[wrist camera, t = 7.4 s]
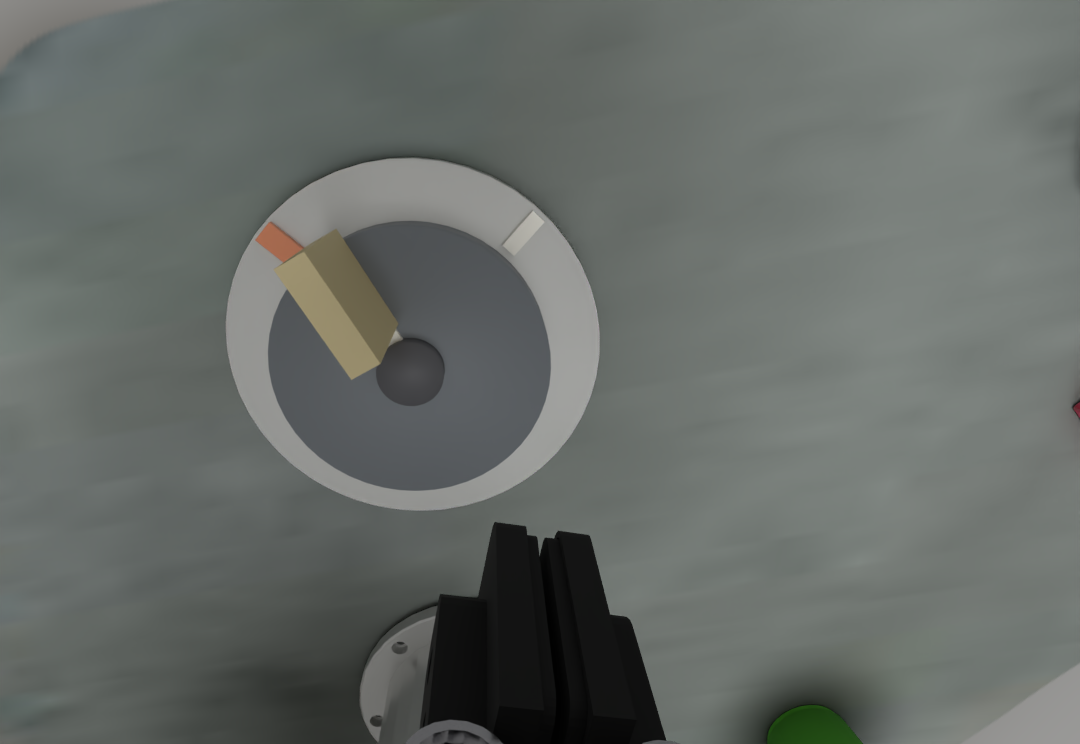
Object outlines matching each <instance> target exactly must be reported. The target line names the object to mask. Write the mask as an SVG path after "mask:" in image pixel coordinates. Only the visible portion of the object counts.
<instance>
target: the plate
mask: <svg viewBox="0 0 1080 744" xmlns="http://www.w3.org/2000/svg"><path fill="white" fill-rule="evenodd" d="M395 221H422V222H431V223H436V224H441V225H445V226H449V227H452V228H455V229H458V230H461V231H463V232H466V233H468V234H470V235H472V236H474V237H476V238H478V239H480V240H482V241H483V242H485V243H486V244H488V245H489V246H491V247H492V248H494V249H495V250H497V251H498V252H499V253H500V254H501V255H502V256H503V257H505V258H506V259H507V260H508V261H509V262H510V263H511V264H512V265H513V266H514V267H515V269H516V270H517V271H518V272H519V273H520V274H521V276H522V277H523V278H524V280H525V281H526V283H527V285H528V286H529V288H530V289H531V291H532V293H533V295H534V297H535V299H536V301H537V303H538V305H539V308H540V311H541V314H542V317H543V320H544V324H545V328H546V331H547V335H548V341H549V347H550V354H551V374H550V384H549V389H548V393H547V397H546V401H545V404H544V406H543V409H542V411H541V414H540V416H539V418H538V420H537V422H536V424H535V425H534V427H533V429H532V431H531V432H530V434H529V435H528V436H527V437H526V439H525V440H524V441H523V443H522V444H521V445H520V446H519V447H518V448H517V449H516V450H515V451H514V452H513V453H512V454H511V455H510V456H509V457H508V458H507V459H505V460H504V461H503V462H502V463H500V464H499V465H498V466H496V467H495V468H493V469H491V470H490V471H488V472H486V473H485V474H483V475H481V476H479V477H477V478H474V479H472V480H470V481H468V482H465V483H461V484H458V485H455V486H452V487H447V488H441V489H436V490H424V491H406V490H395V489H389V488H383V487H379V486H375V485H372V484H368V483H365V482H363V481H360V480H358V479H355V478H353V477H350V476H348V475H346V474H344V473H343V472H341V471H339V470H337V469H335V468H334V467H332V466H331V465H329V464H328V463H326V462H325V461H324V460H322V459H321V458H319V457H318V456H317V455H316V454H315V453H314V452H313V451H312V450H311V449H309V448H308V447H307V446H306V445H305V443H304V442H303V441H302V440H301V439H300V438H299V437H298V435H297V434H296V433H295V432H294V430H293V429H292V427H291V426H290V424H289V423H288V421H287V420H286V418H285V416H284V414H283V412H282V410H281V408H280V406H279V404H278V402H277V399H276V396H275V393H274V390H273V388H272V384H271V378H270V373H269V366H268V344H269V333H270V329H271V325H272V321H273V317H274V314H275V312H276V310H277V307H278V305H279V302H280V300H281V298H282V297H283V295H284V293H285V291H286V290H287V288H286V287H285V285H284V284H283V283H282V281H281V280H280V278H279V277H278V275H277V274H276V273H275V271H274V270H273V269H275V268H276V267H278V266H279V265H280V264H282V263H283V262H285V261H286V260H288V259H289V258H290V257H292V256H293V255H295V254H296V253H298V252H299V251H301V250H302V249H303V248H305V247H306V246H308V245H309V244H311V243H312V242H314V241H316V240H317V239H319V238H321V237H323V236H324V235H326V234H328V233H329V232H331V231H333V230H335V229H337V230H338V232H339V233H340V235H341V236H342V238H343V237H345V236H347V235H349V234H352V233H354V232H356V231H358V230H361V229H364V228H367V227H370V226H373V225H377V224H382V223H388V222H395ZM226 339H227V351H228V356H229V361H230V366H231V371H232V374H233V377H234V380H235V383H236V386H237V389H238V392H239V394H240V396H241V398H242V400H243V402H244V404H245V406H246V408H247V410H248V412H249V414H250V416H251V417H252V419H253V420H254V422H255V423H256V425H257V426H258V428H259V429H260V431H261V432H262V434H263V435H264V436H265V437H266V438H267V439H268V441H269V442H270V443H271V444H272V445H273V446H274V447H275V449H276V450H277V451H278V452H279V453H280V454H281V455H283V456H284V457H285V458H286V459H287V460H288V461H289V462H290V463H291V464H292V465H294V466H295V467H296V468H297V469H299V470H300V471H302V472H303V473H304V474H306V475H307V476H309V477H310V478H311V479H313V480H315V481H316V482H318V483H320V484H322V485H324V486H325V487H327V488H329V489H331V490H333V491H335V492H337V493H340V494H342V495H345V496H347V497H349V498H352V499H354V500H358V501H361V502H365V503H368V504H372V505H375V506H380V507H386V508H392V509H398V510H416V511H426V510H443V509H449V508H455V507H461V506H466V505H469V504H472V503H476V502H479V501H483V500H486V499H488V498H491V497H493V496H495V495H498V494H500V493H502V492H505V491H507V490H508V489H510V488H512V487H514V486H515V485H517V484H519V483H521V482H522V481H524V480H525V479H527V478H528V477H530V476H531V475H532V474H534V473H535V472H536V471H538V470H539V469H540V468H542V467H543V466H544V465H545V464H546V463H547V462H548V461H549V460H550V459H551V458H552V457H553V456H554V455H555V454H556V453H557V452H558V451H559V449H560V448H561V447H562V446H563V444H564V443H565V442H566V441H567V440H568V438H569V437H570V436H571V434H572V432H573V431H574V429H575V427H576V426H577V424H578V423H579V421H580V419H581V418H582V415H583V413H584V411H585V409H586V406H587V404H588V402H589V400H590V397H591V393H592V390H593V387H594V383H595V380H596V375H597V369H598V362H599V355H600V331H599V323H598V315H597V308H596V305H595V301H594V297H593V294H592V290H591V287H590V284H589V282H588V279H587V277H586V275H585V272H584V270H583V268H582V265H581V263H580V262H579V260H578V258H577V257H576V255H575V253H574V252H573V250H572V248H571V246H570V245H569V243H568V242H567V240H566V238H565V237H564V236H563V235H562V233H561V232H560V231H559V230H558V228H557V227H556V226H555V224H554V223H553V222H552V221H551V219H550V218H549V217H548V216H546V215H545V214H544V213H543V212H542V211H541V210H540V209H539V208H538V207H537V206H536V205H535V204H534V203H533V202H532V201H530V200H529V199H528V198H526V197H525V196H524V195H522V194H521V193H520V192H518V191H517V190H516V189H514V188H513V187H511V186H509V185H507V184H506V183H504V182H502V181H500V180H498V179H497V178H495V177H493V176H491V175H489V174H486V173H484V172H481V171H479V170H476V169H474V168H471V167H468V166H465V165H461V164H457V163H453V162H449V161H445V160H439V159H430V158H421V157H402V158H387V159H381V160H375V161H369V162H364V163H361V164H358V165H355V166H352V167H348V168H345V169H342V170H339V171H336V172H334V173H332V174H330V175H327V176H325V177H323V178H321V179H319V180H317V181H315V182H313V183H311V184H309V185H308V186H306V187H305V188H303V189H302V190H300V191H299V192H297V193H296V194H294V195H293V196H291V197H290V198H289V199H288V200H287V201H285V202H284V203H283V204H282V205H281V206H280V207H279V208H278V209H277V210H276V211H274V212H273V213H272V214H271V215H270V216H269V218H268V219H267V220H266V221H265V223H264V224H263V225H262V226H261V227H260V229H259V230H258V231H257V232H256V234H255V235H254V237H253V238H252V240H251V242H250V244H249V245H248V247H247V249H246V250H245V252H244V254H243V255H242V258H241V260H240V263H239V265H238V268H237V270H236V273H235V275H234V278H233V282H232V286H231V290H230V294H229V298H228V305H227V316H226Z"/></svg>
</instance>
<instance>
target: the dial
mask: <svg viewBox="0 0 1080 744" xmlns="http://www.w3.org/2000/svg"><path fill="white" fill-rule="evenodd" d="M273 270H274V271H275V273H276V274H277V275H278V277H279V278H280V280H281V281H282V283H283V284H284V285H285V287H286V288H287V290H286V291H285V293H284V295H283V297H282V298H281V300H280V302H279V305H278V307H277V310H276V312H275V314H274V317H273V321H272V325H271V329H270V333H269V344H268V366H269V373H270V378H271V384H272V388H273V390H274V393H275V396H276V399H277V402H278V404H279V406H280V408H281V410H282V412H283V414H284V416H285V418H286V420H287V421H288V423H289V424H290V426H291V427H292V429H293V430H294V432H295V433H296V434H297V435H298V437H299V438H300V439H301V440H302V441H303V442H304V443H305V445H306V446H307V447H308V448H309V449H311V450H312V451H313V452H314V453H315V454H316V455H317V456H318V457H319V458H321V459H322V460H324V461H325V462H326V463H328V464H329V465H331V466H332V467H334V468H335V469H337V470H339V471H341V472H343V473H344V474H346V475H348V476H350V477H353V478H355V479H358V480H360V481H363V482H365V483H368V484H372V485H375V486H379V487H383V488H389V489H395V490H406V491H424V490H436V489H441V488H447V487H452V486H455V485H458V484H461V483H465V482H468V481H470V480H472V479H474V478H477V477H479V476H481V475H483V474H485V473H486V472H488V471H490V470H491V469H493V468H495V467H496V466H498V465H499V464H500V463H502V462H503V461H504V460H505V459H507V458H508V457H509V456H510V455H511V454H512V453H513V452H514V451H515V450H516V449H517V448H518V447H519V446H520V445H521V444H522V443H523V441H524V440H525V439H526V437H527V436H528V435H529V434H530V432H531V431H532V429H533V427H534V425H535V424H536V422H537V420H538V418H539V416H540V414H541V411H542V409H543V406H544V404H545V401H546V397H547V393H548V389H549V384H550V374H551V354H550V347H549V341H548V335H547V331H546V328H545V324H544V320H543V317H542V314H541V311H540V308H539V305H538V303H537V301H536V299H535V297H534V295H533V293H532V291H531V289H530V288H529V286H528V285H527V283H526V281H525V280H524V278H523V277H522V276H521V274H520V273H519V272H518V271H517V270H516V269H515V267H514V266H513V265H512V264H511V263H510V262H509V261H508V260H507V259H506V258H505V257H503V256H502V255H501V254H500V253H499V252H498V251H497V250H495V249H494V248H492V247H491V246H489V245H488V244H486V243H485V242H483V241H482V240H480V239H478V238H476V237H474V236H472V235H470V234H468V233H466V232H463V231H461V230H458V229H455V228H452V227H449V226H445V225H441V224H436V223H431V222H422V221H395V222H388V223H382V224H377V225H373V226H370V227H367V228H364V229H361V230H358V231H356V232H354V233H352V234H349V235H347V236H345V237H343V238H342V236H341V235H340V233H339V232H338V230H337V229H335V230H333V231H331V232H329V233H328V234H326V235H324V236H323V237H321V238H319V239H317V240H316V241H314V242H312V243H311V244H309V245H308V246H306V247H305V248H303V249H302V250H301V251H299V252H298V253H296V254H295V255H293V256H292V257H290V258H289V259H288V260H286V261H285V262H283V263H282V264H280V265H279V266H278V267H276V268H275V269H273Z"/></svg>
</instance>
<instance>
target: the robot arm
mask: <svg viewBox="0 0 1080 744" xmlns="http://www.w3.org/2000/svg"><path fill="white" fill-rule="evenodd" d="M359 704H360V708H361V713H362V717H363V720H364V722H365V724H366V726H367V728H368V730H369V732H370V734H371V735H372V736H373V738H374V739H375V740H376V741H377V742H378V744H679V743H676V742H673V741H666V738H665V735H664V731H663V728H662V725H661V721H660V718H659V714H658V711H657V708H656V704H655V701H654V697H653V694H652V691H651V687H650V684H649V680H648V677H647V674H646V670H645V667H644V663H643V660H642V657H641V653H640V650H639V646H638V643H637V639H636V636H635V633H634V629H633V626H632V624H631V621H630V619H628V618H627V617H624V616H616V615H610V613H609V609H608V605H607V601H606V597H605V593H604V589H603V585H602V581H601V577H600V573H599V569H598V565H597V561H596V558H595V554H594V550H593V546H592V542H591V538H590V536H589V535H584V534H577V533H570V532H563V531H558V532H557V533H556V535H555V538H554V539H552V538H545V539H544V541H543V545H542V549H541V553H540V557H539V549H538V541H537V537H536V536H530V535H527V530H526V527H525V526H519V525H512V524H505V523H497V522H495V523H494V525H493V528H492V533H491V537H490V542H489V547H488V552H487V557H486V561H485V566H484V571H483V576H482V581H481V586H480V590H479V595H478V599H476V598H468V597H460V596H452V595H444V594H440V597H439V601H438V606H434V607H431V608H428V609H426V610H423V611H421V612H418V613H416V614H413V615H411V616H410V617H408V618H406V619H405V620H403V621H402V622H400V623H398V624H397V625H395V626H394V627H393V628H392V629H391V630H390V631H389V632H387V633H386V634H385V635H384V636H383V637H382V638H381V639H380V641H379V642H378V643H377V645H376V646H375V648H374V649H373V650H372V652H371V653H370V656H369V658H368V660H367V663H366V665H365V668H364V672H363V676H362V681H361V685H360V701H359Z"/></svg>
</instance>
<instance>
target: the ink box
mask: <svg viewBox="0 0 1080 744" xmlns="http://www.w3.org/2000/svg"><path fill="white" fill-rule="evenodd" d="M1074 410H1075V412H1076V413H1077V415H1078V416H1079V418H1080V402H1079V403H1078V404H1076V405H1075V406H1074Z"/></svg>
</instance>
